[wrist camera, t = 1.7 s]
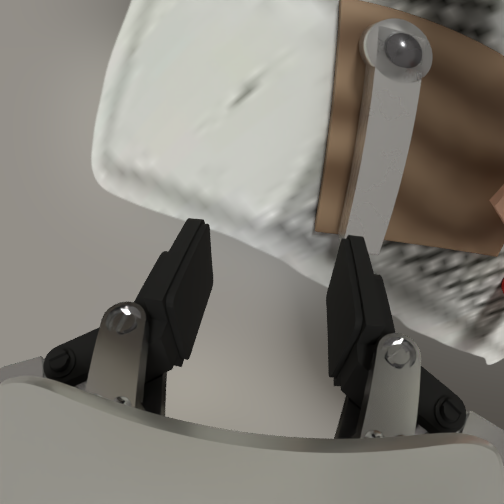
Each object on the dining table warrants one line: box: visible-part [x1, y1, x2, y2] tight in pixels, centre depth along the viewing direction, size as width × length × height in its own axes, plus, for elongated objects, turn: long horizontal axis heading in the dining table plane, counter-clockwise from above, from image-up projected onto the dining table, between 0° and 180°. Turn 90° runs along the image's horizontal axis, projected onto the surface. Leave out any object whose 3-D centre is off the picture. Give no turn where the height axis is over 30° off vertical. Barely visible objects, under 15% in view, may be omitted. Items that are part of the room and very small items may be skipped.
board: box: [315, 0, 504, 257], centre depth 21 cm, size 22×24×1 cm
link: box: [338, 18, 432, 255], centre depth 20 cm, size 20×5×4 cm, turn 178°
